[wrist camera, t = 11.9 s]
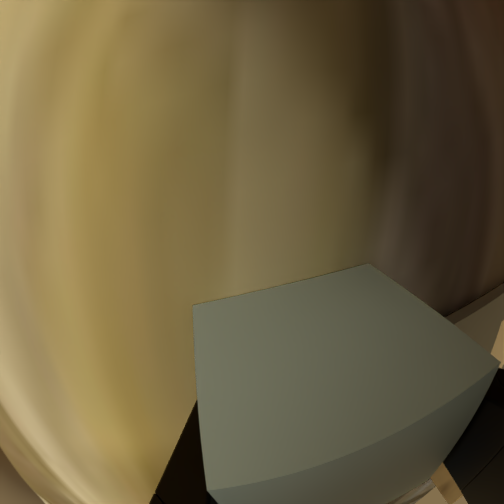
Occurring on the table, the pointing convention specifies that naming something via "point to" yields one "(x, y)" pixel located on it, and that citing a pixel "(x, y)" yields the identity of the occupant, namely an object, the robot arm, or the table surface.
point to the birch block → (446, 484)
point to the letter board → (484, 322)
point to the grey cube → (331, 390)
